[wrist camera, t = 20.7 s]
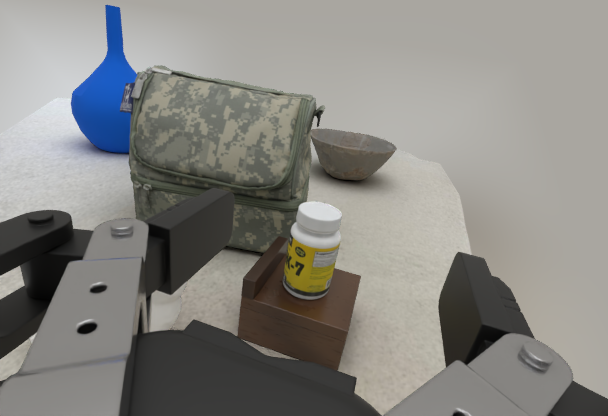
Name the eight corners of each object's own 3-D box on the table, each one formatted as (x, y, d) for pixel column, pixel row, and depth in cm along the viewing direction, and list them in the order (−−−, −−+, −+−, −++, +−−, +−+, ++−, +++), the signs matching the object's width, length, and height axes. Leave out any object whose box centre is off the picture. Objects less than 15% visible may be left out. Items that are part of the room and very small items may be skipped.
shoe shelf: (351, 311, 38) (365, 260, 35) (336, 373, 30) (353, 313, 27) (271, 285, 40) (278, 235, 37) (237, 337, 32) (243, 278, 29)
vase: (85, 135, 84) (71, 0, 72) (163, 140, 91) (161, 18, 79) (66, 156, 68) (44, -11, 57) (162, 160, 75) (159, 12, 63)
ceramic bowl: (360, 164, 101) (368, 132, 97) (403, 193, 81) (415, 154, 77) (292, 160, 93) (297, 124, 89) (321, 191, 73) (330, 147, 69)
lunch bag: (108, 230, 45) (92, 59, 37) (173, 188, 62) (173, 63, 53) (292, 269, 44) (321, 99, 35) (308, 215, 60) (331, 91, 52)
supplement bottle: (275, 274, 34) (286, 200, 30) (315, 268, 36) (329, 198, 32) (293, 305, 30) (308, 223, 26) (337, 297, 32) (356, 220, 29)
